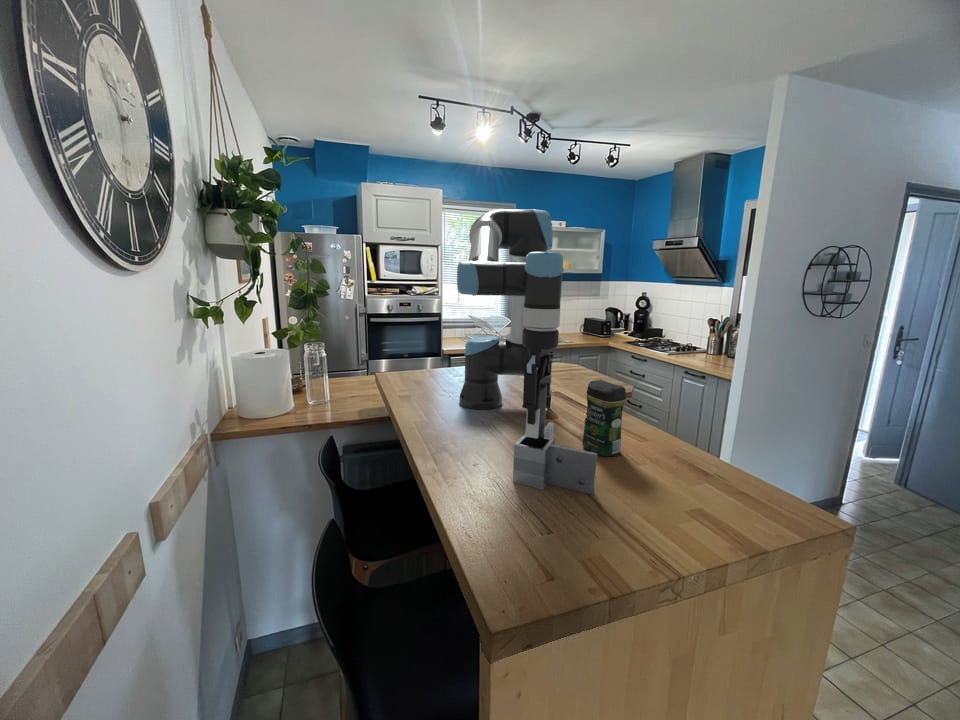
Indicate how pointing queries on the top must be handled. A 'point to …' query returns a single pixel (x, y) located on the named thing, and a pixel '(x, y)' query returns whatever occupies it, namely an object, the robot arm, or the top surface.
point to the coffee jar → (604, 418)
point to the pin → (541, 414)
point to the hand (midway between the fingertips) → (535, 432)
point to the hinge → (554, 465)
